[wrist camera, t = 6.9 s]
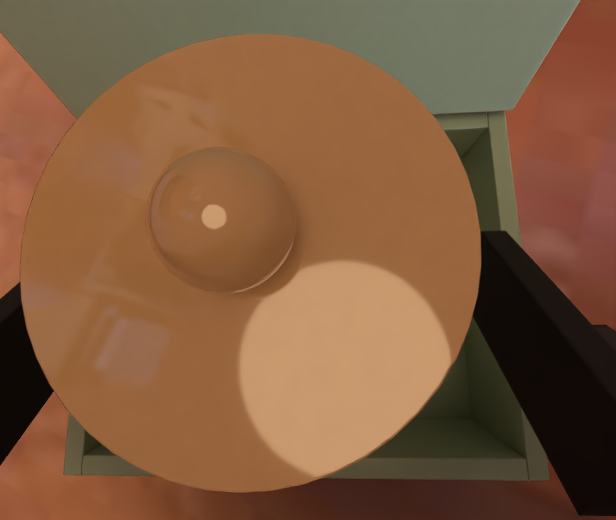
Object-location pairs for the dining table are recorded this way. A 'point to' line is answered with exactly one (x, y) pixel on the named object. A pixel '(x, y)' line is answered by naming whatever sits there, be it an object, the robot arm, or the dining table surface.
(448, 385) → the box
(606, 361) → the robot arm
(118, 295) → the canister
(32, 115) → the dining table surface
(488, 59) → the box lid
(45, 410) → the dining table surface
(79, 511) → the dining table surface
